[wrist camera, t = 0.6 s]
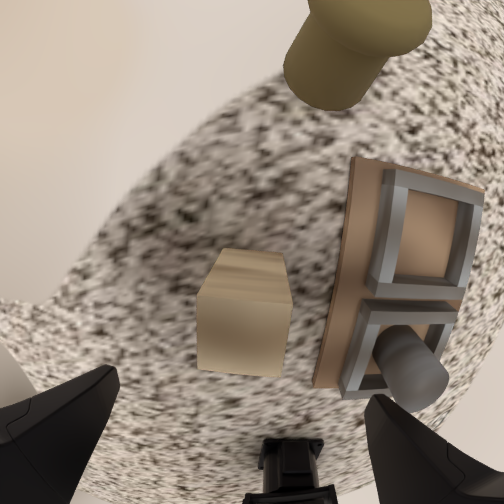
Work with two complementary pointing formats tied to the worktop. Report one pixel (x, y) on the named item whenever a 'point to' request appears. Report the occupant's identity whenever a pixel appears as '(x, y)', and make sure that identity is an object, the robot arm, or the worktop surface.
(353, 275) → the board
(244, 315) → the maple pin
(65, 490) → the robot arm
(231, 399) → the worktop surface
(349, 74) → the olive green peg figure
